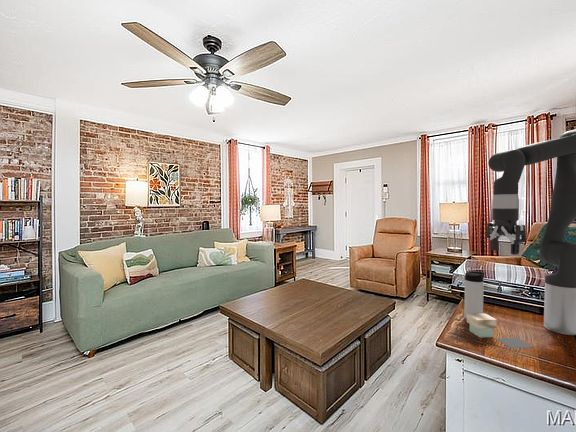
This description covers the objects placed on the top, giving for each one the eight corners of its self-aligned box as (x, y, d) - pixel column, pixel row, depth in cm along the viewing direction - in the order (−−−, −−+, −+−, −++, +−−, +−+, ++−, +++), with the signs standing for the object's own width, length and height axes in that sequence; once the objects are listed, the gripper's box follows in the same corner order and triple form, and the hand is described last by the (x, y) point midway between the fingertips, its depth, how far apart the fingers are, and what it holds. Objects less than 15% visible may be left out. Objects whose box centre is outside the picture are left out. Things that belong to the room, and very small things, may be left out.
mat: (516, 339, 96) (517, 337, 96) (534, 348, 90) (534, 347, 90) (494, 339, 96) (494, 338, 96) (510, 349, 89) (510, 347, 89)
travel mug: (486, 324, 108) (487, 274, 107) (468, 323, 109) (469, 273, 109) (479, 317, 114) (480, 270, 113) (461, 316, 116) (462, 269, 115)
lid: (485, 321, 102) (485, 313, 102) (496, 328, 96) (496, 319, 96) (466, 321, 102) (466, 313, 101) (477, 328, 96) (477, 320, 96)
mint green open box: (482, 332, 102) (482, 321, 102) (493, 338, 97) (493, 327, 97) (469, 332, 102) (469, 322, 101) (479, 339, 97) (479, 328, 96)
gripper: (534, 207, 91) (532, 255, 92) (499, 207, 105) (498, 249, 106) (512, 207, 91) (511, 256, 91) (480, 207, 105) (479, 249, 106)
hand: (504, 252), depth 99 cm, fingers open, 8 cm apart
